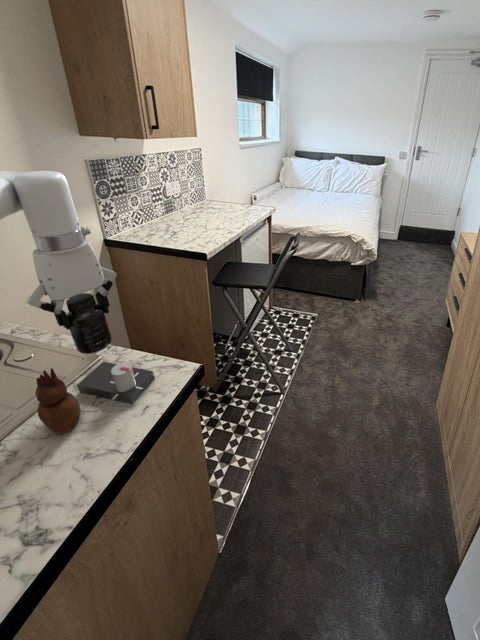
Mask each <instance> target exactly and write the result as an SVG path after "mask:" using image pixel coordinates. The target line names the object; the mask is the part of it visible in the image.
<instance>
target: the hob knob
mask: <svg viewBox="0 0 480 640" xmlns="http://www.w3.org/2000/svg"><path fill="white" fill-rule="evenodd" d="M116 364H117V365H115V366H114V367H113V368H112V370H111V374H112V377H113V380H114V383H115V386H116V389H117V391H119V392H126V391H129V390H131V389H132V388H133V387H134V386H135V384H136V381H135V377H134V373H133V370H132V367H133V366H132V364H131V363H130V362H127V361H125V362H124V361H123V362H119V363H116Z"/></svg>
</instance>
